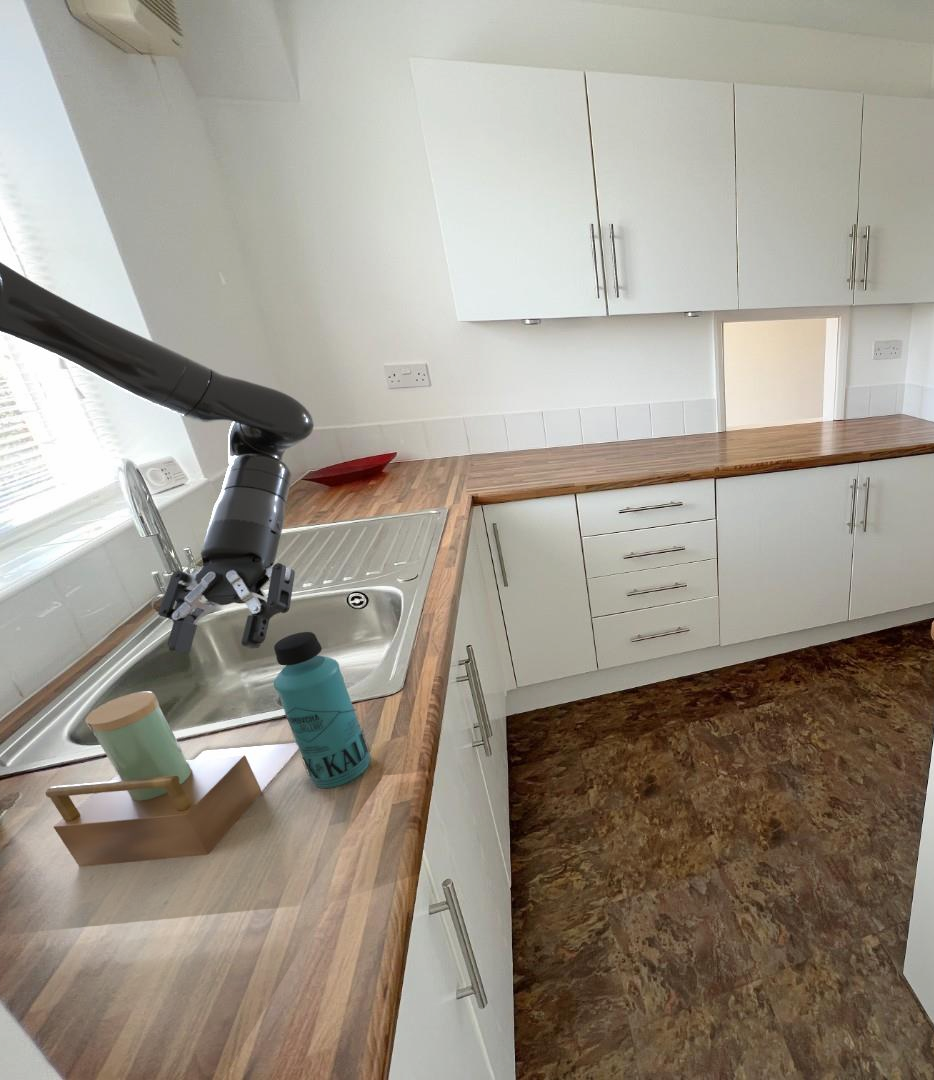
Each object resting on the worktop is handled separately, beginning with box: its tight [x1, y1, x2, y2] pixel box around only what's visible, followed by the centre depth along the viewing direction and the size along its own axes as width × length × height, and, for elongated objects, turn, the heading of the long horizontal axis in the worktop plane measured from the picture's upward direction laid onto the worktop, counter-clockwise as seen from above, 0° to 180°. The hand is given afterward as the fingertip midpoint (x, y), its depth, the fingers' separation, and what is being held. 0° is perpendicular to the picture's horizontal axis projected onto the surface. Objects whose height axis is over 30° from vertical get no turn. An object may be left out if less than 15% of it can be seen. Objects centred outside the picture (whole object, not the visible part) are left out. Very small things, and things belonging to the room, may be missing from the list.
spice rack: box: [45, 742, 300, 868], centre depth 67 cm, size 13×17×11 cm
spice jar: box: [85, 691, 191, 801], centre depth 61 cm, size 5×5×10 cm
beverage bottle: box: [273, 631, 372, 789], centre depth 68 cm, size 6×7×20 cm
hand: (214, 649), depth 71 cm, fingers open, 8 cm apart
